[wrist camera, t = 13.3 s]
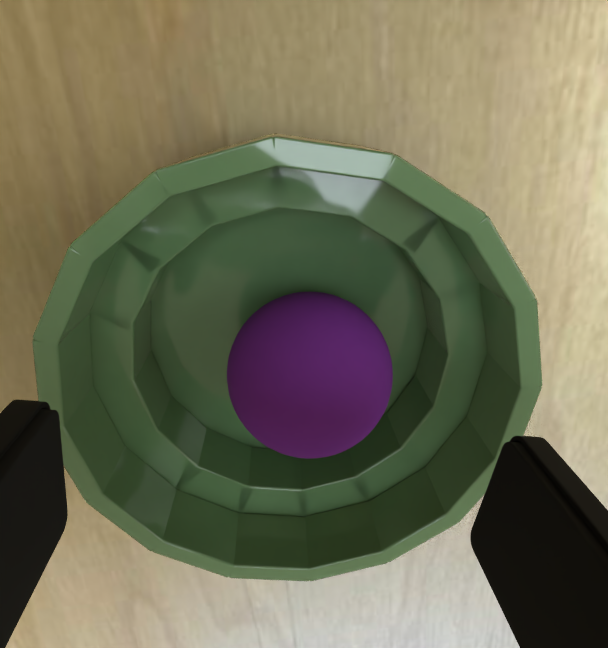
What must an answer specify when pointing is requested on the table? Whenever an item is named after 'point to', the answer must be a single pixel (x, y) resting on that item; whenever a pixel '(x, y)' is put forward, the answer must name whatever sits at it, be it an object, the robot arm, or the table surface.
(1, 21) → the table surface
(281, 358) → the ball
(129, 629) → the table surface
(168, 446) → the bowl
